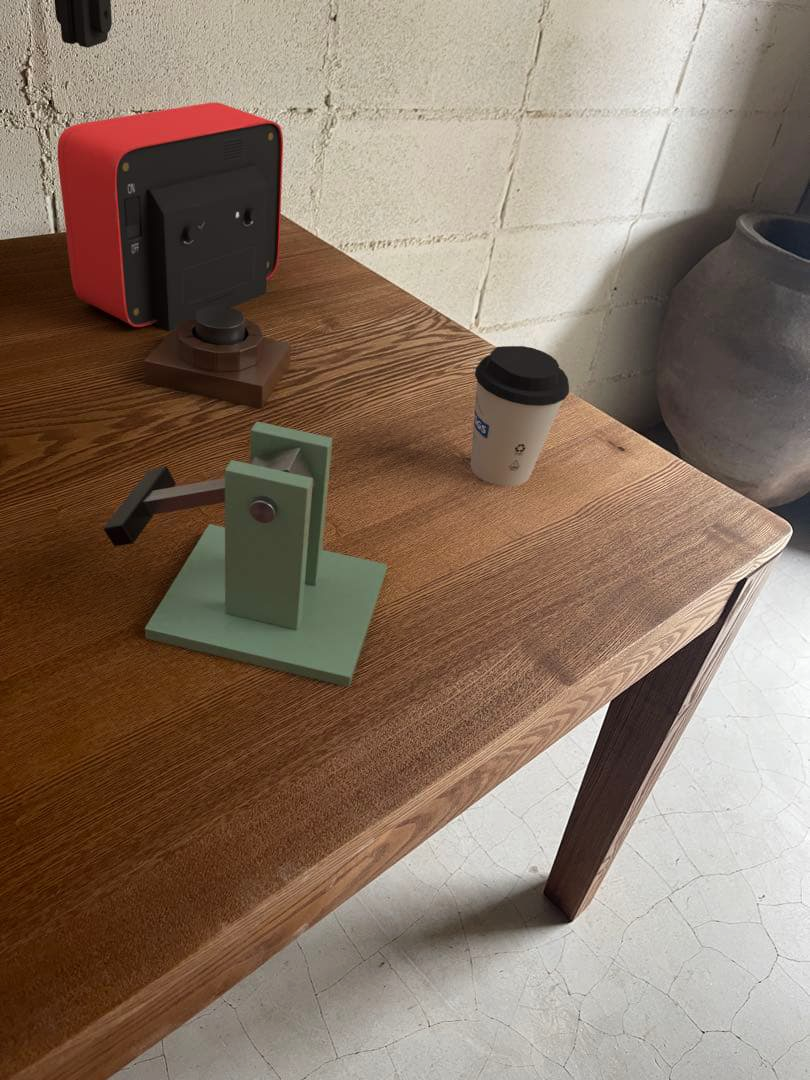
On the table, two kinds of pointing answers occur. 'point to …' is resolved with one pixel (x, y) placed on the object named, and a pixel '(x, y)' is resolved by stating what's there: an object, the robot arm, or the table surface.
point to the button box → (219, 365)
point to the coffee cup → (514, 412)
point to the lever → (184, 494)
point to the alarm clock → (171, 210)
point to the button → (220, 325)
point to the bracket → (273, 573)
